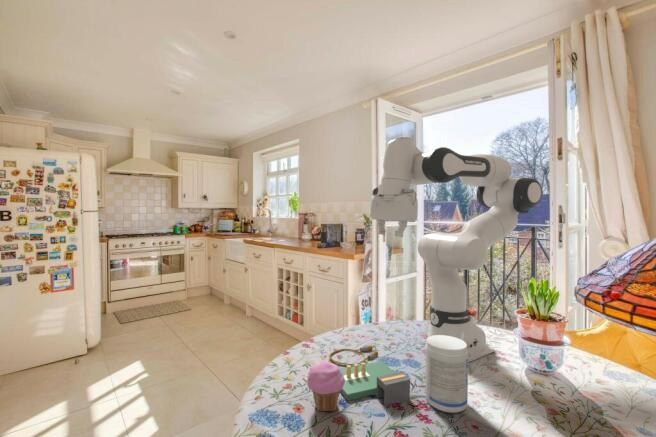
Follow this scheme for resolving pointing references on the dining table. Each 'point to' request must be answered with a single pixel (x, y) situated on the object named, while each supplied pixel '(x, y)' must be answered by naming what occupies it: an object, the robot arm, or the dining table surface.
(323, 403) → the cupcake
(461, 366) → the supplement tub
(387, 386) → the box
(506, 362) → the dining table surface
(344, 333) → the dining table surface
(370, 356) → the extension cord
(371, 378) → the header board
